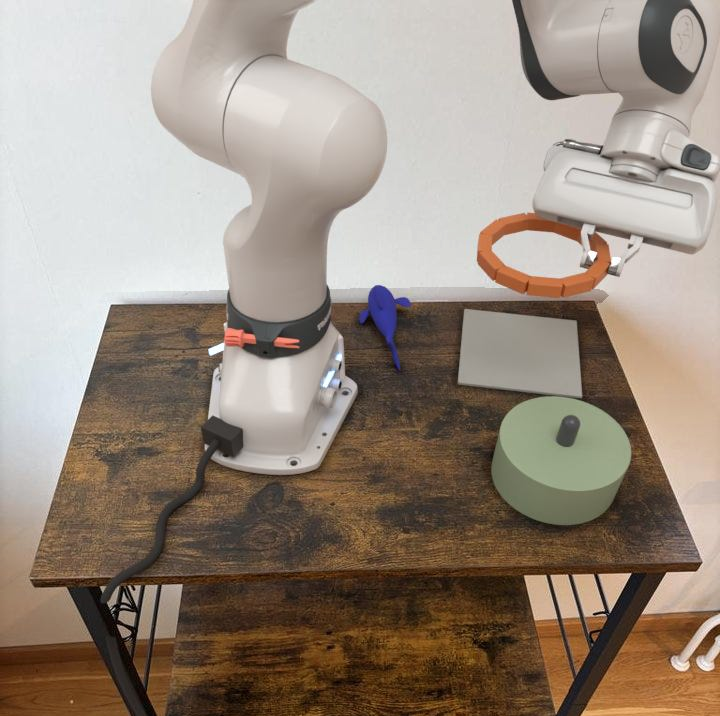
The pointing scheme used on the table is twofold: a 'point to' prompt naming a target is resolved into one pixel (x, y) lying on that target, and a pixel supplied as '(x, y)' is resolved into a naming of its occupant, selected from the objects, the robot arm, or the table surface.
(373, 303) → the fish toy
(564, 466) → the stand
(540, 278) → the ring
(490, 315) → the mat
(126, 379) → the table surface
